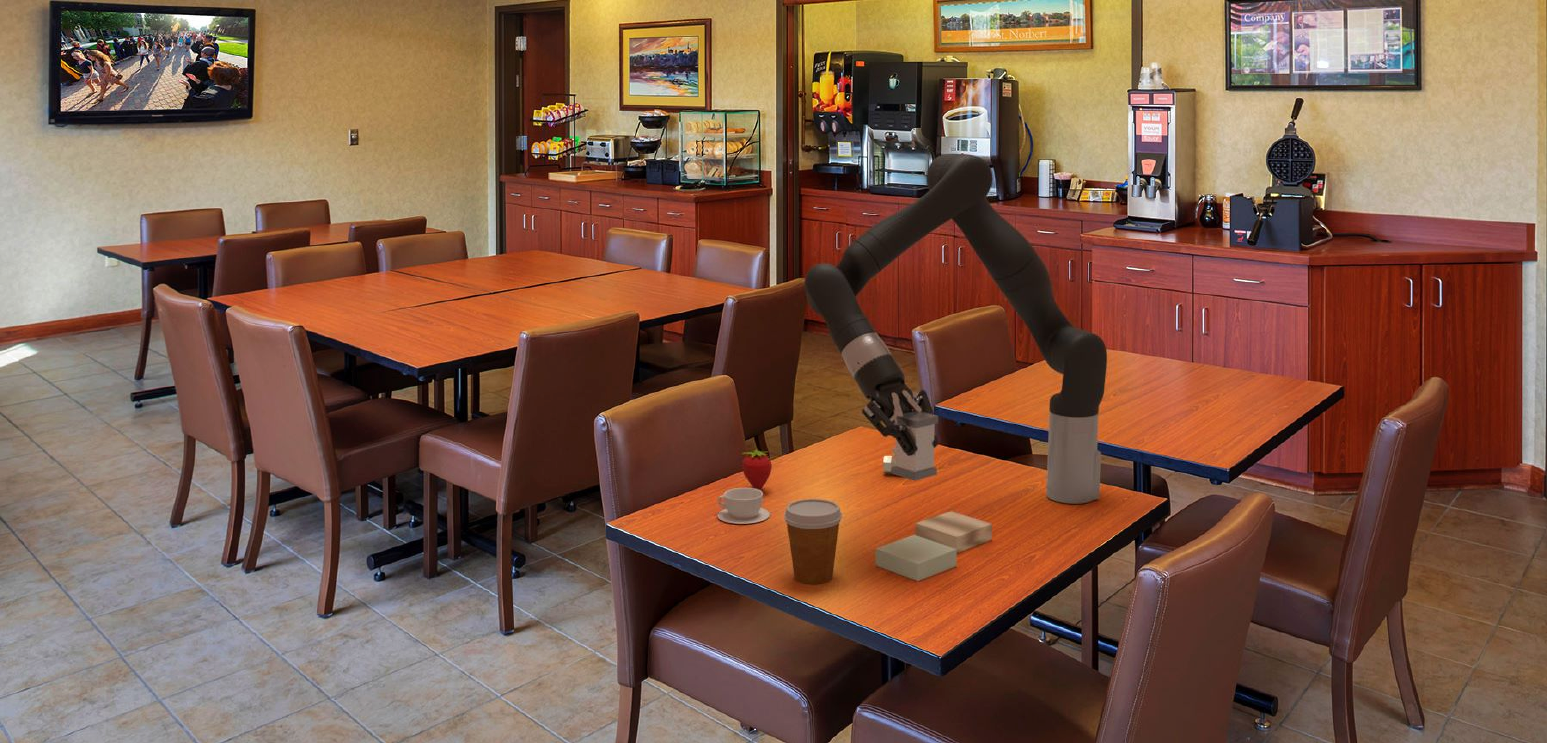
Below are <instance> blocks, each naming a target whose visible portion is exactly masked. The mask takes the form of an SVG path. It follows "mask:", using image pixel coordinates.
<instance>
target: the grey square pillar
mask: <svg viewBox="0 0 1547 743" xmlns="http://www.w3.org/2000/svg"><path fill="white" fill-rule="evenodd" d="M902 414H903V416H900V417H899V420H900V422H901V424H902V425H904V426H905V430H904V431H906V430H907V431H908V433H909V435H910V436H911V438H912V439H913V441H914V443H915V444H916V446H917V448H918V450H917V451H916V452H915V453H914V454H913V455H911V456H908V455H907V454H906V453H905V452H904V451H903V450H902V448H901V446H900V445H899V443H898V441H897V440H896V439H895V441H896V442H895V445H896V466H893V467H892V474H891V475H894V476H895V475H896V476H898V477H901V478H905V479H907V480H911V481H914V482H916V481H919V480H923V479H926V478H930V477H934V476H937V475H938V474H937V472H938V467H936V466H934V459H935V458H934V457H935V448H934V434H935V425H936V424H939V415H936V414H934V415H933V414H929V413H925V412H921V411H920V412H913V410H912V411H910V412H904V413H902ZM894 423H896V422H895V421H894Z"/></svg>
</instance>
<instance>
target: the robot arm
mask: <svg viewBox="0 0 1547 743" xmlns="http://www.w3.org/2000/svg"><path fill="white" fill-rule="evenodd" d="M926 184H927V188H928V191H927V192H926V193H925V194H923V196H921V197H920V198H919V199H916V200H915V201H914V202H912V203H911V204H909V205H907V206H905V207H904V208H902V209H900V210H898V211H896V212H894V213H892V214H890V215H889V216H887V217H885V218H884V219H882V220H880V221H879V222H877V223H876V224H874V225H873V226H871V227H870V228H868V230H866V231H865V232H864V233H862V234H861V235H860V236H859V237H857V238H855V240H854V241H853V242H851V243H849V245H848V246H847V247H846V248H845V249H844V251H843V253H842V257H841V259H840V260H839V263H838V264H836V265H833V264H831V263H827V262H826V263H825V262H824V263H823V262H822V263H817V264H816V265H814V266H811V268H809V270H808V272H807V273H806V275H805V278H804V290H805V294H806V299H807V303H808V305H809V307H810V309H811V310H812V311H813V312H814V313H816V314H817V315H819V316H821V317H822V319H824V321H825V323H826V325H827V329H828V333H829V336H830V337H831V339H832V341H833V343H834V345H835V346H836V348H837V350H838V351H839V353H840V355H841V356H842V358H843V360H844V363H845V366H846V367H847V369H848V371H849V372H850V374H851V376H852V378H853V379H854V381H855V383H856V384H857V386H858V388H859V389H860V391H861V392H862V393H861V394H863V395H864V397H865V398H866V400H868V401H869V402H868V403H866V405H865V406H864V407H863V408H862V409H861V413H862V415H863V416H865V418H866V419H867V420H868V421H869V422H870V423H871V424H872V425H873V427H874V428H875V429H876V430H877V431H878V432H879V433H880V434H881V435H882V437H884V438H887V437H889V436H890V437H892V438H893V439H895V441H896V440H897V441H898V443H899V445H900V446H901V448H902V450H903V451H904V452H905V453H906V454H907V455H908V456H911V455H913V454H914V453H915V452H916V451H917V450H918V448H917V446H916V444H915V443H914V441H913V439H912V438H911V436H910V435H909V433H908V431H907V430H906V431H904V430H905V426H904V425H902V424H901V422H900V420H899V417H900V416H903V414H902V413H904V412H910V411H913V412H920V411H921V412H925V413H929V414H933V415H935V413H934V410H933V407H932V405H931V402H930V399H929V396H928V393H927V391H926V390H925V389H921V390H919V392H916V391H912V389H910V388H909V386H907V385H906V382H905V378H906V377H905V373H904V372H903V370H902V369H901V367H900V366H899V364H898V362H897V361H896V359H895V358H894V356H893V354H892V352H891V351H890V350H889V348H888V346H887V345H886V343H885V341H883V340H882V338H880V336H879V335H878V333H877V331H876V330H875V329H874V327H873V325H872V323H871V321H870V320H869V319H868V317H867V316H866V314H865V313H864V311H863V310H862V308H861V307H860V305H859V301H858V300H857V296H858V295H859V294H860V292H861V291H863V289H864V288H865V287H866V285H867V284H868V283H869V282H870V280H872V278H874V277H875V276H877V275H878V274H879V273H880V272H881V271H883V270H884V269H885V268H887V267H888V266H889V265H890V264H891V263H893V261H895V260H896V259H897V258H898V257H900V256H901V255H902V254H903V253H904V252H906V251H907V250H908V249H910V248H911V247H912V246H913V245H915V244H916V243H918V242H919V241H920V240H922V239H923V238H925V237H926V236H928V235H929V234H931V232H933V231H935V230H936V229H937V228H939V227H941V226H942V225H945V223H947V222H948V221H950V220H952V221H953V222H954V223H955V225H957V227H958V228H959V230H960V231H961V232H962V234H963V235H964V236H965V239H966V240H967V242H968V243H969V245H970V246H971V248H972V249H973V251H974V252H975V254H976V255H977V257H978V258H979V260H980V261H981V263H982V264H983V266H984V268H985V269H986V270H987V272H988V274H989V275H990V277H991V278H992V280H993V281H994V283H995V285H996V286H997V287H998V288H999V290H1000V292H1001V293H1002V294H1003V295H1004V297H1005V298H1006V299H1007V301H1008V302H1009V304H1010V305H1011V306H1012V307H1013V309H1014V310H1015V313H1017V315H1018V316H1019V318H1020V319H1021V320H1022V321H1023V323H1024V324H1025V326H1026V327H1027V329H1028V330H1029V333H1030V334H1031V337H1032V338H1033V340H1034V342H1035V344H1036V346H1037V348H1038V349H1039V351H1040V353H1041V356H1042V358H1043V359H1044V360H1045V362H1046V364H1047V366H1049V367H1050V368H1051V369H1052V370H1053V371H1055V372H1057V373H1058V374H1061V375H1062V382H1061V383H1062V385H1061V390H1060V392H1056V393H1053V395H1051V396H1050V398H1049V412H1048V413H1049V414H1048V415H1049V416H1048V417H1049V418H1048V440H1047V441H1048V442H1047V443H1048V444H1047V468H1046V469H1047V470H1046V471H1047V473H1046V485H1045V486H1046V497H1047V498H1048V499H1050V500H1051V501H1054V502H1057V503H1063V504H1069V505H1070V504H1071V505H1072V504H1075V505H1076V504H1077V505H1079V504H1080V505H1081V504H1086V503H1090V502H1093V501H1095V500H1099V499H1100V489H1101V488H1100V486H1101V485H1100V484H1101V464H1102V459H1101V458H1102V452H1101V451H1100V450H1098V438H1099V436H1098V434H1099V433H1098V432H1099V412H1100V404H1101V402H1102V401H1103V398H1104V394H1105V386H1106V378H1107V376H1106V375H1107V368H1108V367H1107V365H1108V352H1107V347H1106V344H1105V341H1104V340H1103V339H1102V338H1101V337H1100V336H1099V335H1098V334H1095V333H1093V332H1090V331H1087V330H1084V329H1080V328H1077V327H1076V326H1075V325H1073V324H1072V322H1071V321H1070V320H1068V318H1067V317H1066V315H1065V313H1064V312H1062V310H1061V308H1060V307H1059V305H1058V304H1057V302H1056V300H1055V298H1054V295H1053V294H1054V293H1053V287H1052V283H1051V282H1052V281H1051V277H1050V274H1049V271H1048V269H1047V266H1046V265H1045V263H1044V262H1043V260H1042V258H1041V257H1040V256H1039V254H1038V253H1037V250H1036V249H1035V248H1034V246H1032V244H1031V242H1029V240H1028V239H1027V238H1026V237H1025V235H1023V234H1022V233H1021V232H1020V231H1019V229H1017V228H1016V227H1014V226H1013V225H1012V224H1011V223H1010V222H1008V221H1007V219H1005V218H1004V217H1003V216H1002V215H1001V214H999V213H998V212H997V211H996V210H995V209H994V208H993V206H992V205H991V204H990V202H989V201H988V199H987V196H988V194H989V193H990V190H991V188H992V185H993V172H992V168H991V167H990V165H989V163H988V162H987V161H985V159H983V158H982V157H979V156H977V155H974V154H973V155H972V154H967V153H946V154H941V155H939V156H937V157H935V158H934V159H933V160H932V161H931V163H930V164H929V165H928V169H927V172H926ZM894 421H895V422H896V423H894ZM882 423H883V424H884V425H883V424H882ZM938 445H939V440H938V437H937V436H936V434H935V433H934V449H936V448H937V447H938Z"/></svg>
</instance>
